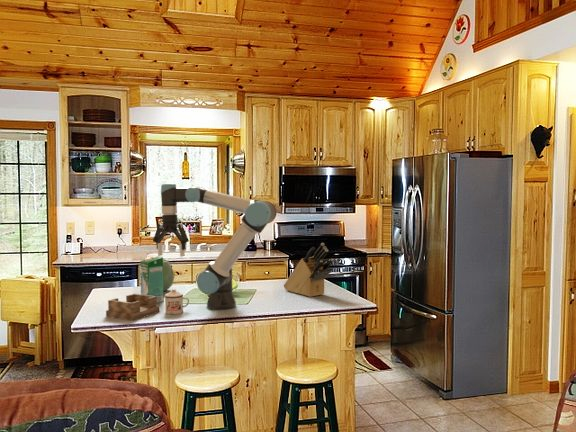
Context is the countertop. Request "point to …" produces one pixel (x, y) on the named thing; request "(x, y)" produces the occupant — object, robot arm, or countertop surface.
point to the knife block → (310, 273)
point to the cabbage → (167, 275)
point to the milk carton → (152, 277)
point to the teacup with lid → (174, 302)
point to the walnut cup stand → (132, 307)
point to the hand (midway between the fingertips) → (171, 256)
